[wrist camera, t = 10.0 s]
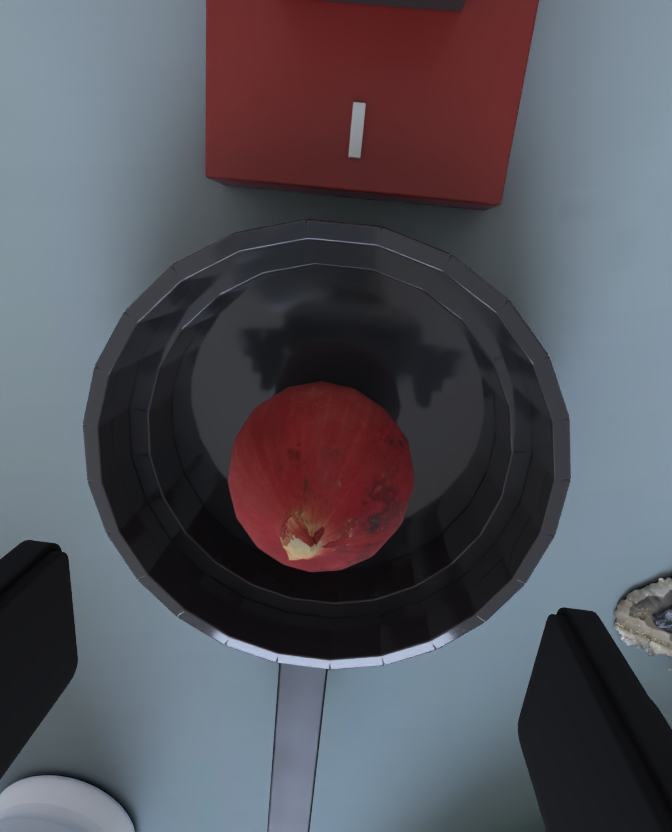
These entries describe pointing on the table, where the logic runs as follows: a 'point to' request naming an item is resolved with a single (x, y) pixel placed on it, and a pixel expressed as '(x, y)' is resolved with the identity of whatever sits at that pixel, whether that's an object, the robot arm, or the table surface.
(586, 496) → the table surface
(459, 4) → the red-tipped grey block
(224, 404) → the pan
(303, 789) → the pan handle
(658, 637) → the blue crystal geode
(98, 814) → the jar
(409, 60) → the panel
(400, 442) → the onion
